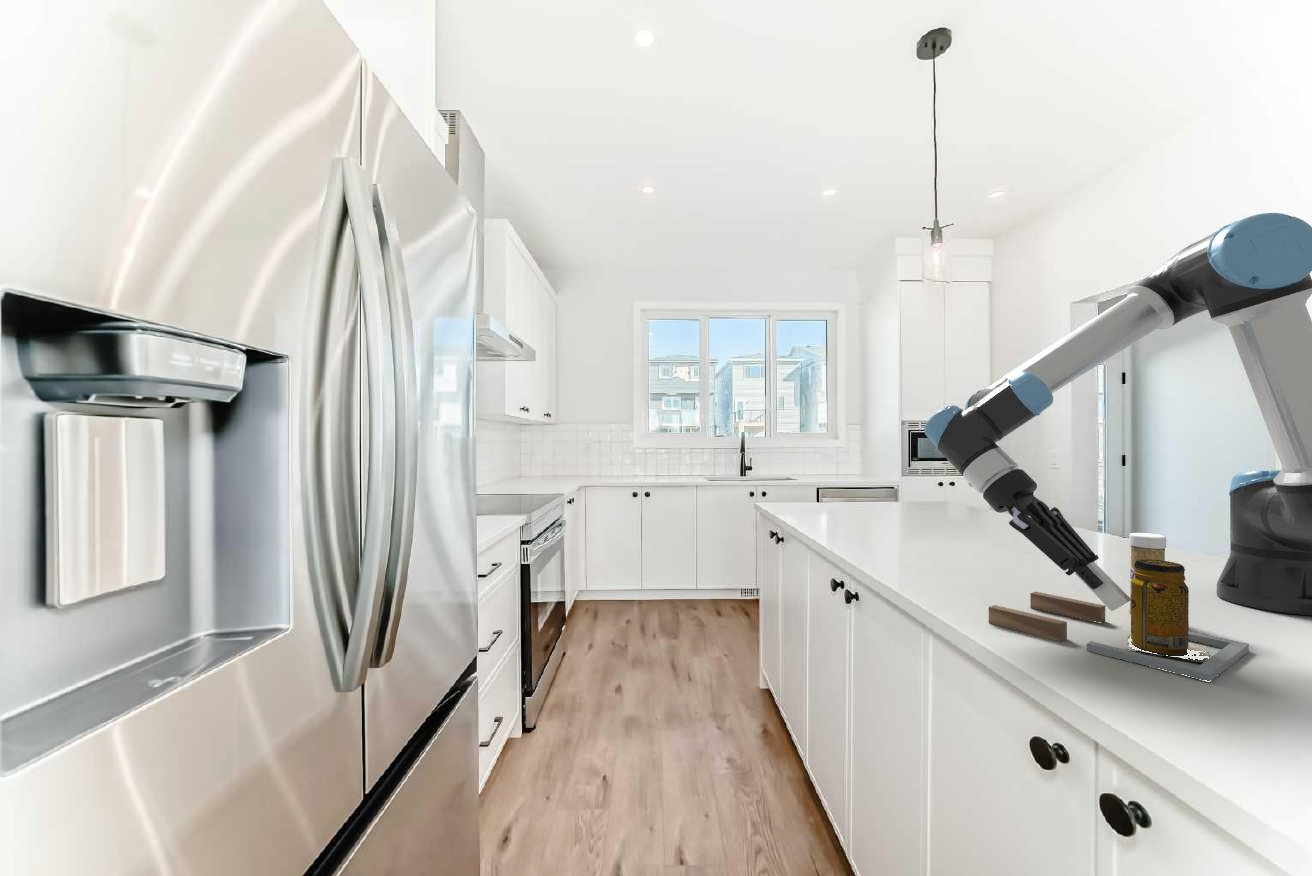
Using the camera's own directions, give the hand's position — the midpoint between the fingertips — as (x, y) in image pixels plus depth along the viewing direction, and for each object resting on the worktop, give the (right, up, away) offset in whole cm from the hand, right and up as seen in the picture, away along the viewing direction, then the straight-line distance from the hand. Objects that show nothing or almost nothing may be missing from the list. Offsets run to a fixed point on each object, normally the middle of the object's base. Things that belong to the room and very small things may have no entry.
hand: (1121, 605), depth 84 cm
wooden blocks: (-5, -5, +8) cm, 11 cm away
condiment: (+3, -5, -4) cm, 7 cm away
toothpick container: (+12, -5, +10) cm, 17 cm away
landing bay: (+2, -5, -4) cm, 7 cm away
